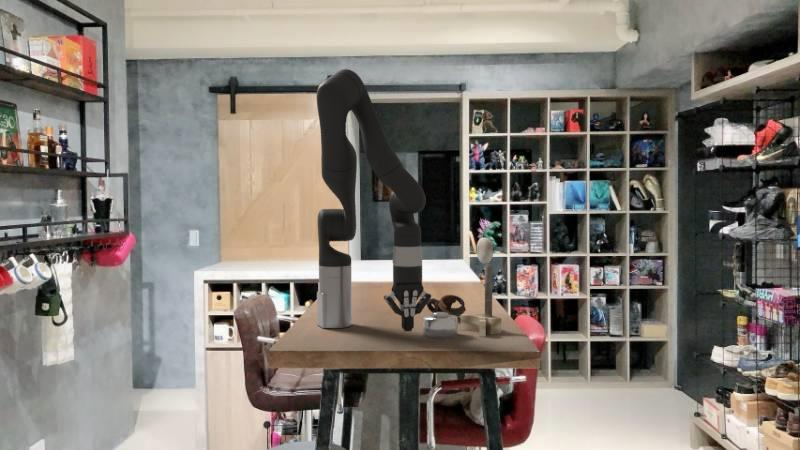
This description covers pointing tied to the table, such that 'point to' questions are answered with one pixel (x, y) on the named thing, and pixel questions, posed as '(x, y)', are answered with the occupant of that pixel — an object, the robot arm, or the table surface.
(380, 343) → the table surface
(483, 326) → the wooden display stand
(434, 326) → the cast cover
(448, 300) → the pottery mug
